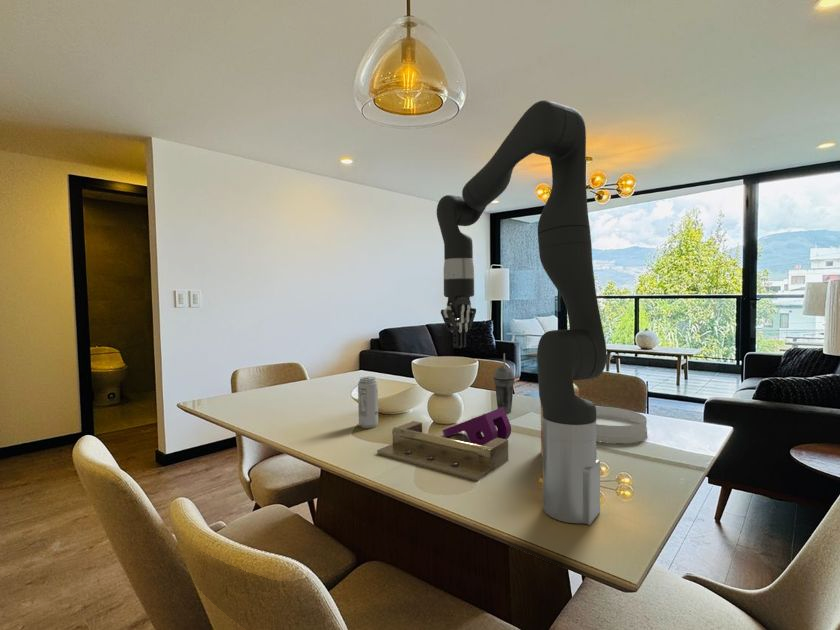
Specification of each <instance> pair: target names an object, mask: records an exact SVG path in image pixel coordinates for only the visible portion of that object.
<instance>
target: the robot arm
mask: <svg viewBox="0 0 840 630" xmlns="http://www.w3.org/2000/svg"><path fill="white" fill-rule="evenodd" d="M585 123H586V122H585V119H584V117H583V115H582V113H581V112H579V110H577V109H576V108H573V107H570V106H568V105H565V104H562V103H558V102H555V101H552V100H548V99H547V100H540V101H537V102H535V103H533V104H532V105H531V106H530V107H529V108H528V109H527V110H526V111H525V112H524V113H523V114H522V116H521V117H520V119H519V120H518V121H517V122H516V124H514V126H513V127H512V129H511V131H509V133H508V134H507V136H506V137H505V139H504V140H503V141H502V143H501V144H500V146H499V147H498V148H497V150H496V151H495V153H494V154H493V156H492V157H491V158H490V159H489V161H488V162H487V163H486V164H485V165H483V167H482V168H481V169H480V170H479V171H478V172H477V173H476V174H475V175H474V176H472V177H471V178H470V179H469V180H468V181H467V182H466V183H465V184H464V186H463V187H462V191H461V196H459V195H453V194H452V195H451V194H449V195H448V194H446V195H443V196H442V197H441V198H440V200H438V203H437V206H436V218H437V222H438V226H439V230H440V233H441V237H442V241H443V244H444V245H443V252H444V256H443V257H444V260H443V261H444V263H443V296H444V297H445V298H447V303H446V307H445V309H441V310H440V314H441V318H442V319H443V322H444V325H445V327H446V330H447V331H450V332H451V333H452V346H453V348H454V349H462V348H465V347H467V332H468V331H469V330H471V329H472V326H473V323H474V319H475V317H476V314H477V308H475V307H474V308H473V307H472V306H471V305H472V303H471V298H470V297H474V296H475V268H474V267H475V266H474V260H473V259H474V257H473V255H474V254H473V253H474V251H473V250H474V249H473V248H474V247H473V239H472V237H471V236H470V235H468V234H465V233H463V232H461V230H460V228H459V227H469V226H472V225H474V224H476V223H477V222H478V221H479V219H480V218H481V216H482V214H483V213H484V211H485V210H486V208H487V206H489V205H490V204H491V203H493V202H494V200H496V199H497V198H498V197H499V196H501V195H502V194H503V193H504V192H505V191H506V189H507V187H508V186H509V183H510V182H511V178H512V174H513V170H514V169H515V167H516V166H517V165H518V163H519V162H521V161H523V159H525V158H526V157H529V156H530V155H532V154H535V155H538V156H543V157H547V158H549V161H550V166H551V177H552V179H551V180H552V185H551V190H550V193H549V196H548V198H547V200H546V203H545V205H544V207H543V209H542V212H541V214H540V216H539V219H538V223H537V240H538V241H537V243H538V252H539V259H540V263H541V265H542V268H543V270H544V271H545V273H546V274H547V276H548V278H549V280H550V282H551V284H553V285H554V288H556V290H557V291H558V293H559V295H560V296H561V298H562V300H563V302H564V305H565V308H566V312H567V319H568V324H569V325H568V326H569V329H553V330H548V331H546V332H544V333H543V334H542V336H541V337H540V339H539V340H538V343H537V344H538V345H537V351H536V353H537V354H536V363H537V380H538V396H539V401H540V402H539V403H540V406H541V405H542V410H543V458H542V502H543V503H542V508H543V511H544V513H545V514H546V515H548V517H550V518H552V519H555V520H557V521H560V522H564V523H570V524H586V525H589V526H590V525H592V524H593V522H594V521H595V519H596V518H597V516H598V515H599V514H600V512H601V461H600V459H597V442H596V405H595V403H594V402H593V401H592V400H588V399H585V398H582V397H580V396H579V397H577V396H576V395H575V392H574V385H573V383H574V381H582V380H583V381H584V380H591V379H592V380H593V379H596V378H598V377H599V376H601V375H602V373H603V372H604V370H605V369H606V368H605V367H606V365H607V355H608V354H607V344H606V337H605V332H604V328H603V327H604V326H603V323H602V318H601V312H600V308H599V303H598V296H597V290H596V283H595V282H596V281H595V273H594V272H595V271H594V265H593V264H594V263H593V249H592V248H593V247H592V237H591V235H592V234H591V227H590V226H591V225H590V220H589V211H588V194H587V183H586V181H587V180H586V177H587V176H586V159H587V158H586V156H587V153H586V152H587V150H586V149H587V147H586V146H587V131H586V129H587V128H586V124H585Z"/></svg>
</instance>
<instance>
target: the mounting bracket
mask: <svg viewBox="0 0 840 630" xmlns="http://www.w3.org/2000/svg"><path fill="white" fill-rule="evenodd" d="M461 432H465V434H466V436H467V438H468V441H469V443H472V444H477V445H484V444H486V443H488V442H490V441H491V440H493V439H495V438H502V439H507V440H509V438H510V436H511V434H512V425H511V423H510V420H509V418H508V415H507V413H506V412H505V410H504V408H503V407H502V408H499V409H498V408H496V409H494V410H491V411H489V412H487V413H483V414H481V415H478V416H475V417H474V418H471V419H468V420H465V421H463V422H460V423H457V424H455V425H453V426H450V427H447V428H445V429H442V434H443V435H444V436H443V437H445V438H448V437H450V436H452V435H455V434H456V435H457V434H458V433H461Z"/></svg>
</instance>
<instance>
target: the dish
mask: <svg viewBox="0 0 840 630" xmlns="http://www.w3.org/2000/svg"><path fill="white" fill-rule="evenodd" d="M595 406H596V405H595ZM647 424H648V423H647V417H646V416H645V415H644V414H642V413H640V412H637V411H633V410H630V409H625V408H620V407H613V406H603V405H601V406H599V405H597V406H596V441H601V442H600V443H602V442H608V443H607V444H616V443H624V444H634V442H635V443H639V442H642V441H645V440H646V439H647V438H648V427H647Z"/></svg>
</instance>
